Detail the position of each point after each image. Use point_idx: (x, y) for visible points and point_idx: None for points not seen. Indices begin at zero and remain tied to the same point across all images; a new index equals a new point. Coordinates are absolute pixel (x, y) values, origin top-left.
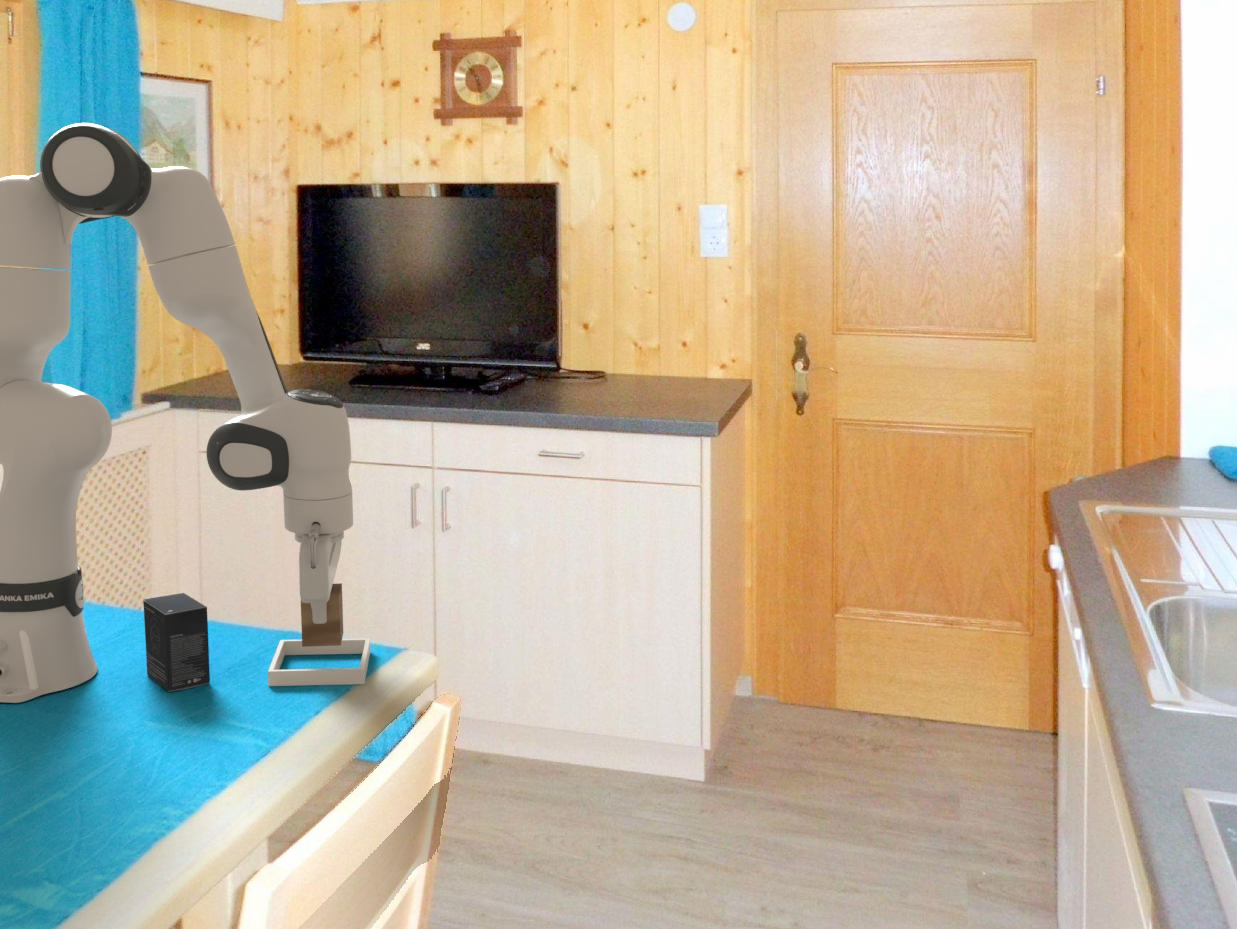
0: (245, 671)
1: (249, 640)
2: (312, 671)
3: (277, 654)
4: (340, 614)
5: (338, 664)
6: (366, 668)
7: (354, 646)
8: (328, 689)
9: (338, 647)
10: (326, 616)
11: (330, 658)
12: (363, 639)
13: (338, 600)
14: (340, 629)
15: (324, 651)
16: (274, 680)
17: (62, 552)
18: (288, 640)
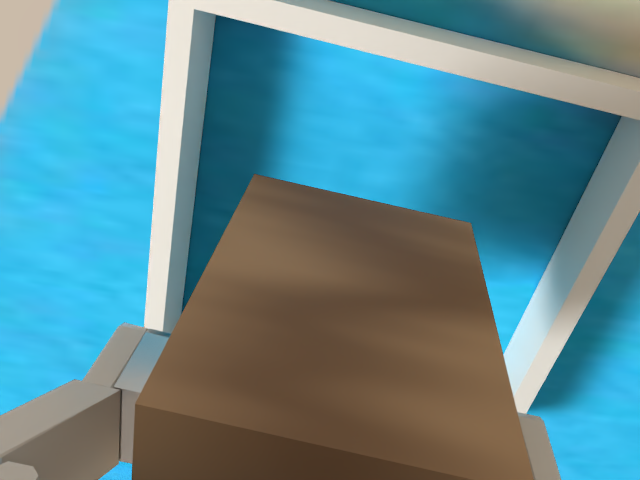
0: None
1: (13, 392)
2: (571, 327)
3: None
4: (442, 323)
5: (337, 153)
6: (499, 46)
7: (197, 64)
8: (636, 243)
9: (192, 142)
10: (548, 446)
11: (250, 173)
12: (184, 19)
13: (525, 453)
14: (471, 272)
15: (191, 194)
16: None
17: None
18: None
